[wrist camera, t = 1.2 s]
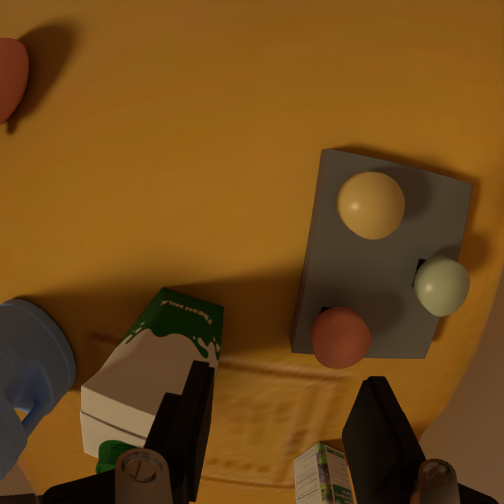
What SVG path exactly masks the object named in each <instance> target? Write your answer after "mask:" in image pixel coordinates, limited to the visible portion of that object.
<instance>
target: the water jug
mask: <svg viewBox="0 0 504 504" xmlns="http://www.w3.org/2000/svg"><path fill="white" fill-rule="evenodd" d="M75 377H76V364H75V359H74V355H73V352H72V349H71V347H70V345H69V343H68V341H67V339H66V337H65V335H64V334H63V332H62V331H61V329H60V328H59V327H58V325H57V324H56V323H55V322H54V321H53V319H52V318H51V317H50V316H49V315H48V314H46V313H45V312H44V311H43V310H42V309H40V308H39V307H37V306H36V305H34V304H32V303H30V302H28V301H25V300H21V299H11V300H8V301H5V302H4V303H2V304H1V305H0V481H2V480H3V479H4V477H5V476H6V474H8V473H9V472H10V471H11V469H12V468H13V466H14V465H15V463H16V462H17V460H18V457H19V455H20V454H21V453H22V451H23V450H24V448H25V447H26V445H27V438H28V437H29V435H30V434H31V433H32V431H33V430H34V429H35V427H36V426H37V425H38V423H39V422H40V421H41V419H42V418H43V417H44V416H45V415H48V414H49V413H50V412H51V411H52V410H53V409H54V407H55V406H56V405H57V403H58V402H59V401H60V399H61V398H62V397H63V396H64V395H65V394H66V393H67V392H68V391H69V389H70V388H71V387H72V385H73V383H74V381H75ZM13 408H16V409H19V410H21V411H23V412H25V413H27V414H28V415H27V416H26V417H25V418H24V420H23V421H22V422H21V421H20V419H19V417H18V415H17V414H16V412H15V410H14V409H13Z"/></svg>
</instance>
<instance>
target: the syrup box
mask: <svg viewBox="0 0 504 504" xmlns="http://www.w3.org/2000/svg"><path fill="white" fill-rule="evenodd" d="M294 474H295V492H296V504H354V500H353V495H352V490H351V485H350V480H349V475H348V471H347V466H346V461H345V456H344V453H343V452H340V451H338V450H336V449H334V448H332V447H330V446H327V445H325V444H323V443H321V442H318V443H317V444H315V445H314V446H313V447H311V448H310V449H308V450H307V451H305V452H304V453H303V454H301V455H300V456H298V457H297V458H295V459H294Z"/></svg>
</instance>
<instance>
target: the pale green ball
mask: <svg viewBox="0 0 504 504" xmlns="http://www.w3.org/2000/svg"><path fill="white" fill-rule="evenodd" d="M469 286H470V279H469V275H468V272H467V270H466V269H465V267H464V266H462V265H461V264H459V263H458V262H456V261H454V260H452V259H451V258H449V257H447V256H444V255H436V256H433V257H431V258H429V259H428V260H426V261H425V262H424V263H423V264H422V265H421V266H420V268H419V269H418V271H417V273H416V276H415V279H414V285H413V289H414V294H415V296H416V298H417V300H418V301H419V302H420V303H421V304H422V305H423V306H424V307H425V308H426V309H427V310H428V311H429V312H430V313H431V314H433V315H435V316H447V315H449V314H451V313H453V312H455V311H456V310H457V309H458V308H459V307H460V306H461V305H462V304H463V302H464V300H465V299H466V297H467V294H468V291H469Z"/></svg>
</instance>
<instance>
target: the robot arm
mask: <svg viewBox="0 0 504 504" xmlns="http://www.w3.org/2000/svg"><path fill="white" fill-rule="evenodd" d="M209 366H210V363H209V362H204V361H197V360H193V362H192V365H191V368H190V371H189V374H188V377H187V380H186V383H185V386H184V389H183V392H182V395H179V394H174V393H168V392H166V393H165V394H164V396H163V399H162V401H161V404H160V406H159V409H158V411H157V414H156V416H155V419H154V421H153V424H152V426H151V429H150V431H149V434H148V436H147V439H146V442H145V444H144V447H143V448H135V449H131V450H128V451H126V452H124V453H123V454H121V455H120V456H119V458H118V459H117V462H116V467H115V468H114V469H111V470H108V471H105V472H102V473H99V474H96V475H92V476H89V477H85V478H82V479H78V480H75V481H71V482H67V483H64V484H60V485H56V486H53V487H51V488H49V489H48V490H47V491H46V492H45V493H44V495H38V496H36V495H35V494H34V493H29V494H19V495H6V496H0V504H189V501H191V502H196V498H197V493H198V487H199V482H200V477H201V472H202V467H203V461H204V456H205V451H206V446H207V441H208V436H209V430H210V424H211V413H212V400H213V388H214V376H215V367H209ZM342 440H343V444H344V448H345V452H346V456H347V460H348V465H349V469H350V473H351V478H352V482H353V486H354V491H355V495H356V500H357V504H498V502H497V501H496V500H495V499H494V498H492V497H490V496H488V495H485V494H483V493H480V492H478V491H475V490H473V489H471V488H469V487H466V486H464V485H462V484H459V483H457V477H456V472H455V470H454V468H453V467H452V466H451V465H450V464H449V463H448V462H446V461H443V460H441V459H429V460H426V458H425V456H424V454H423V452H422V449H421V447H420V445H419V443H418V441H417V439H416V436H415V434H414V432H413V430H412V428H411V426H410V424H409V422H408V420H407V418H406V416H405V414H404V412H403V411H402V409H401V407H400V405H399V403H398V401H397V399H396V397H395V395H394V393H393V391H392V389H391V387H390V385H389V383H388V381H387V379H386V378H385V377H384V376H370V377H369V378H368V379H367V380H364V381H363V383H362V385H361V388H360V390H359V393H358V395H357V398H356V400H355V403H354V405H353V407H352V410H351V412H350V415H349V417H348V419H347V422H346V424H345V426H344V428H343V432H342Z"/></svg>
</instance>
